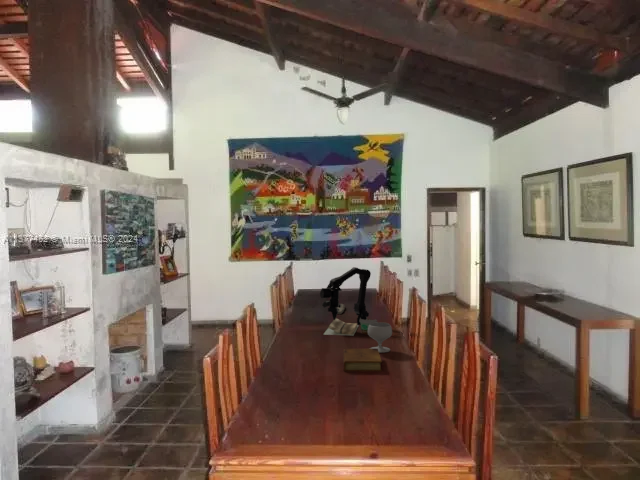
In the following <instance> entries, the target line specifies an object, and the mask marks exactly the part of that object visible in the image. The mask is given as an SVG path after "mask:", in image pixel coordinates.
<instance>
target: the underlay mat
mask: <svg viewBox="0 0 640 480" xmlns="http://www.w3.org/2000/svg"><path fill="white" fill-rule="evenodd" d="M345 325H346V324H345ZM345 325H344V326H345ZM359 326H360V325H358V324H357V327H356V329H355V331H354V333H353V334H341V332H340V333H337V332H335V331H333V330H331V329H329V327H328V328H327V329H326V330H325V332H324V333H323V335H324V336H325V335H326V336H327V335H328V336H331V335H332V336H351V337H352V336H353V337H354V335H355V333H356V332H357V330H358V328H359ZM343 328H344V327H343ZM341 331H342V330H341Z"/></svg>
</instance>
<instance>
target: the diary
mask: <svg viewBox="0 0 640 480" xmlns="http://www.w3.org/2000/svg"><path fill="white" fill-rule="evenodd" d="M342 361H343V363H342V364H343V371H344V372H382V367H381V364H382V358H381V355H380V353H379V351H378V349H370V348H344V349H343V350H342Z"/></svg>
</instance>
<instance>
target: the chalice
mask: <svg viewBox="0 0 640 480" xmlns="http://www.w3.org/2000/svg"><path fill="white" fill-rule="evenodd" d="M392 335H393V329H392V326H391V324H390V323H388V322H383V321H382V322H381V321H380V322H378V321H377V322H375V323H371V324H370V325H369V327H368V337H370V338H371V339H373V340H374V341H376V342H377V346H372V347H370V348H369V349H378V351H379V354H380V353H389V352H391V349H390V347H387V346H382V344H383V342H384V341H386V340H387V339H389V338H391V336H392Z"/></svg>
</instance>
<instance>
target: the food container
mask: <svg viewBox="0 0 640 480" xmlns="http://www.w3.org/2000/svg"><path fill="white" fill-rule="evenodd" d="M359 322H360V323H361V325H360V332H361V334H362V335H368V327H369V325H370V324H371V323H375V322H378V319H376V318H375V319H370V318H367V319H361V318H360V320H359ZM368 336H369V335H368Z"/></svg>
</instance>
